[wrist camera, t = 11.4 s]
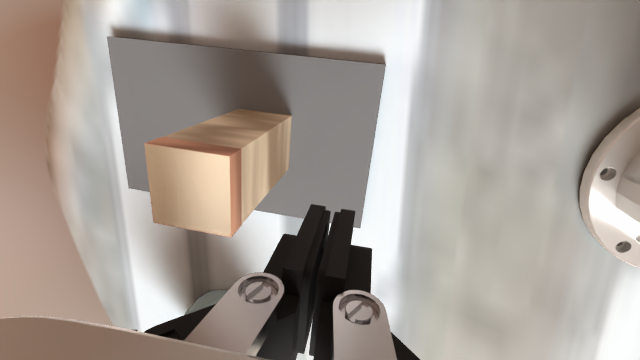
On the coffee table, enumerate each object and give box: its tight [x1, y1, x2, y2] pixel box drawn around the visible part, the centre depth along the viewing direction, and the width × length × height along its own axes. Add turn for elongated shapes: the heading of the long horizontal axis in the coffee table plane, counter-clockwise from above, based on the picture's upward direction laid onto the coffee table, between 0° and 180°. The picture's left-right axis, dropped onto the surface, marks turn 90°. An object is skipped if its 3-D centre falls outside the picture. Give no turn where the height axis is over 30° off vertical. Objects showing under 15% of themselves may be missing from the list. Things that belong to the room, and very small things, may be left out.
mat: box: [107, 37, 386, 228], centre depth 25 cm, size 20×12×1 cm, turn 85°
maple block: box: [144, 109, 292, 237], centre depth 19 cm, size 4×4×10 cm
